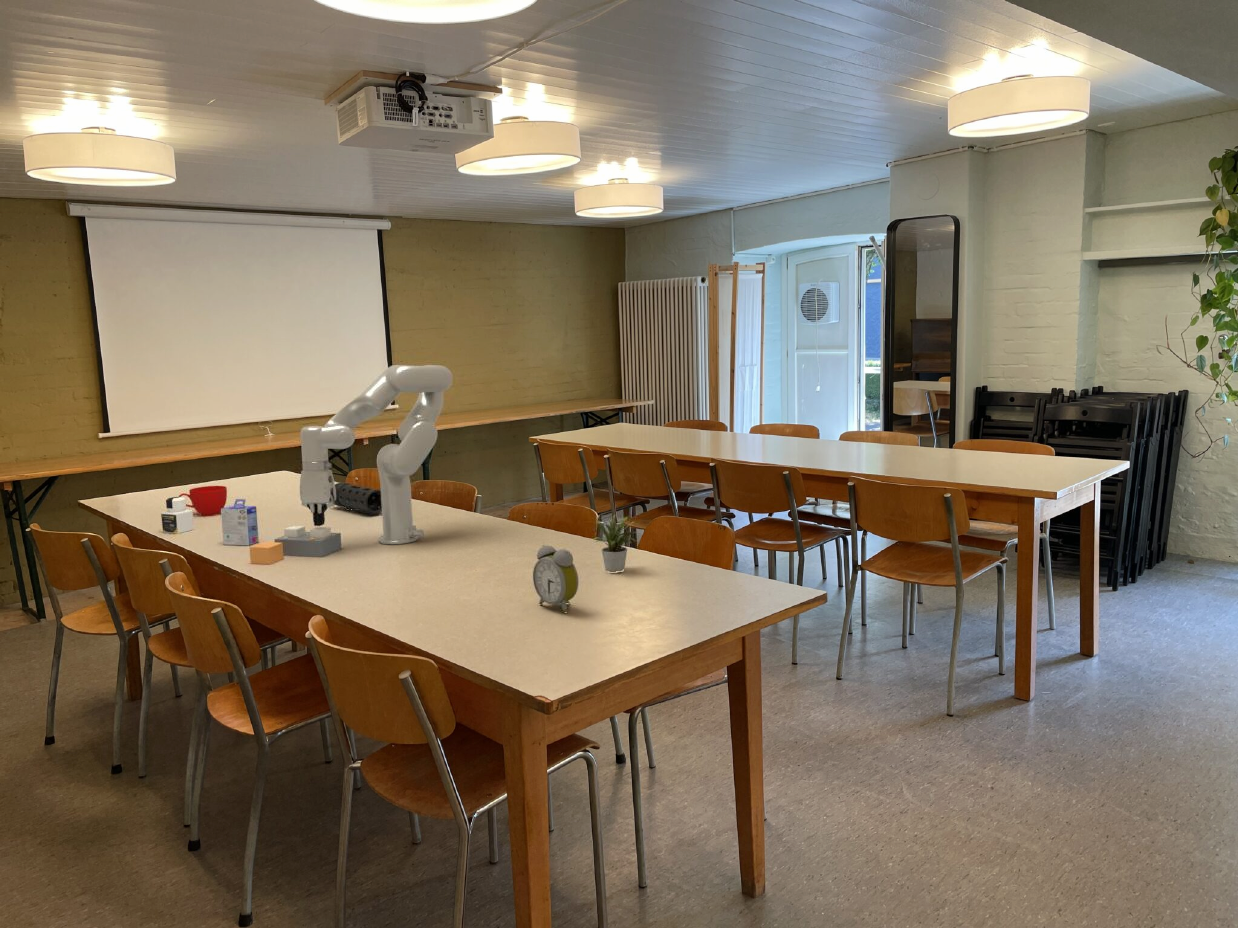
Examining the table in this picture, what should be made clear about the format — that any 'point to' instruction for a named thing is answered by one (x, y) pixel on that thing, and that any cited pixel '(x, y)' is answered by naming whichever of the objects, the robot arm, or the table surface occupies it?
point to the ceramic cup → (207, 499)
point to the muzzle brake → (358, 498)
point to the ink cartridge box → (239, 524)
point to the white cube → (294, 531)
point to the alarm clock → (555, 576)
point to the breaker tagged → (320, 532)
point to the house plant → (614, 545)
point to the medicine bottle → (177, 516)
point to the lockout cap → (266, 553)
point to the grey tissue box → (310, 545)
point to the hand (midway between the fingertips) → (319, 524)
